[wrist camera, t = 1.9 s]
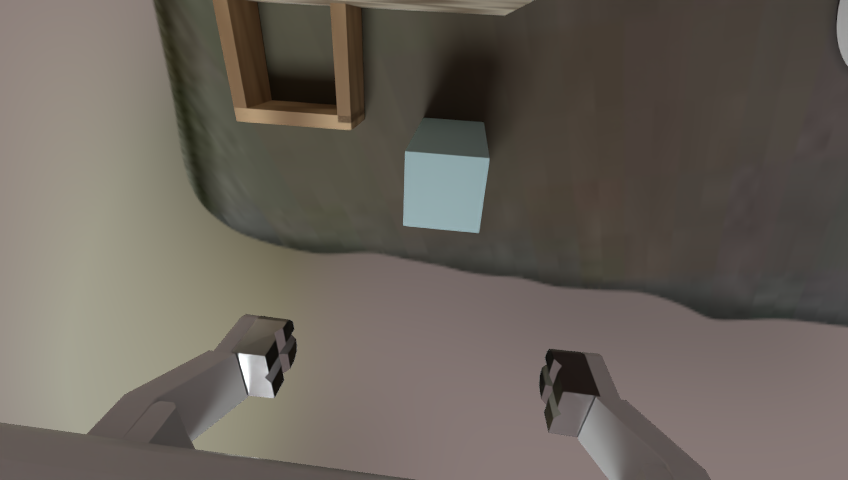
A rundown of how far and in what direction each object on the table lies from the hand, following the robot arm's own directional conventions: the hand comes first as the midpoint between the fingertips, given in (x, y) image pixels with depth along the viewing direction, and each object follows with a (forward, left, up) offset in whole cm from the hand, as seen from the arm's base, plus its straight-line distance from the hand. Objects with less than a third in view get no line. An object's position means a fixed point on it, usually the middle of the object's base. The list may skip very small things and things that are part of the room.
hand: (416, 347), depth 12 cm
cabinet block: (0, 0, -23) cm, 23 cm away
